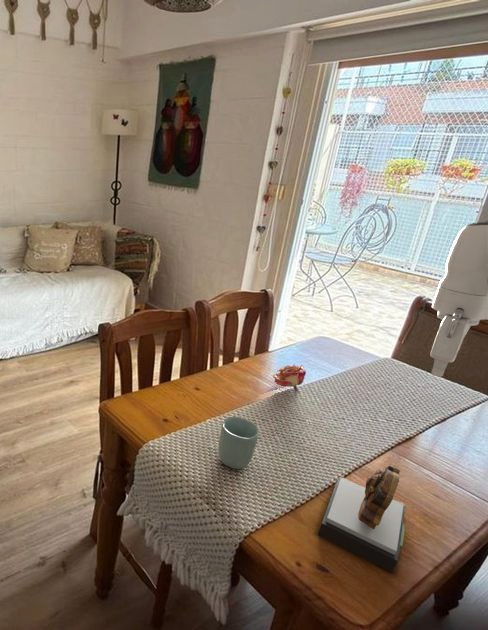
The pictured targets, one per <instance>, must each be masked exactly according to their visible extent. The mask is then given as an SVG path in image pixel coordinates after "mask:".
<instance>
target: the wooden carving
mask: <svg viewBox="0 0 488 630" xmlns="http://www.w3.org/2000/svg"><path fill="white" fill-rule="evenodd" d="M400 473H401V470H400V469H398V468H396V467H394V466H391V465H387V466H386V467H385V469H384V470H381V469H377V470H375V472H374V474H372V475H370V476H368V478H367V479H366V481H365V486H364V487H365V497H364V499H363V501H362V503H361V507H360V510H359V513H358V519H359V520H360V521H361V522H363V523H365V524H367V525H368V526H369V527H371V528H372V529H375V527H376V525H379V524H380V522H381V519H382V516H383V514H384V512H385V510H386V509H387V508H388V507H389V505H390V503H391V501H392V499H393V500H394V496H395V493H396V491H397V488H398V485H399V483H400V478H401V477H400Z"/></svg>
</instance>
